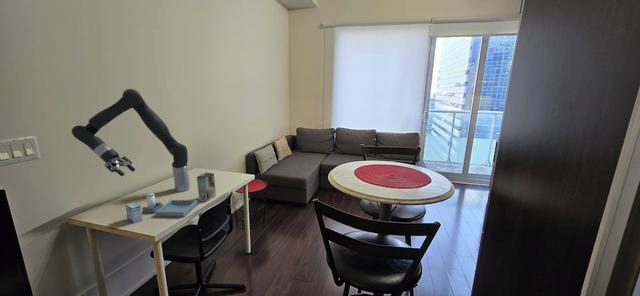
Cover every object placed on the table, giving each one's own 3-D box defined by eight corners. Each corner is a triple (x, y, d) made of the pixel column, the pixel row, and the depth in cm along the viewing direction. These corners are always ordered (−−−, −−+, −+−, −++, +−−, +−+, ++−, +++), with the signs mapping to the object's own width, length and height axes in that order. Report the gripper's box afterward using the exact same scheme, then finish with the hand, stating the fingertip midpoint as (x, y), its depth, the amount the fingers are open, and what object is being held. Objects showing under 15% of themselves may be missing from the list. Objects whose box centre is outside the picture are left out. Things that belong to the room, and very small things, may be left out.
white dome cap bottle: (151, 208, 160) (149, 192, 158) (158, 208, 160) (155, 192, 158) (146, 211, 156) (144, 195, 154) (153, 211, 156) (151, 195, 154)
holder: (151, 206, 162) (151, 202, 161) (163, 207, 162) (162, 202, 161) (143, 212, 154) (142, 208, 154) (155, 213, 154) (154, 208, 154)
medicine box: (127, 219, 147) (124, 204, 145) (136, 216, 150) (134, 201, 148) (133, 223, 143) (131, 208, 141) (143, 220, 146) (140, 205, 144)
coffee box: (207, 195, 180) (205, 172, 177) (216, 196, 179) (214, 173, 175) (198, 200, 172) (196, 176, 168) (207, 201, 170) (205, 177, 166)
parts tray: (171, 204, 166) (171, 199, 165) (197, 204, 166) (197, 200, 165) (155, 216, 150) (155, 211, 150) (184, 217, 150) (183, 212, 149)
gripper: (100, 151, 145) (123, 172, 147) (119, 146, 159) (141, 165, 161) (91, 160, 146) (115, 181, 148) (112, 154, 160) (133, 173, 162)
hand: (129, 172), depth 155 cm, fingers open, 8 cm apart
